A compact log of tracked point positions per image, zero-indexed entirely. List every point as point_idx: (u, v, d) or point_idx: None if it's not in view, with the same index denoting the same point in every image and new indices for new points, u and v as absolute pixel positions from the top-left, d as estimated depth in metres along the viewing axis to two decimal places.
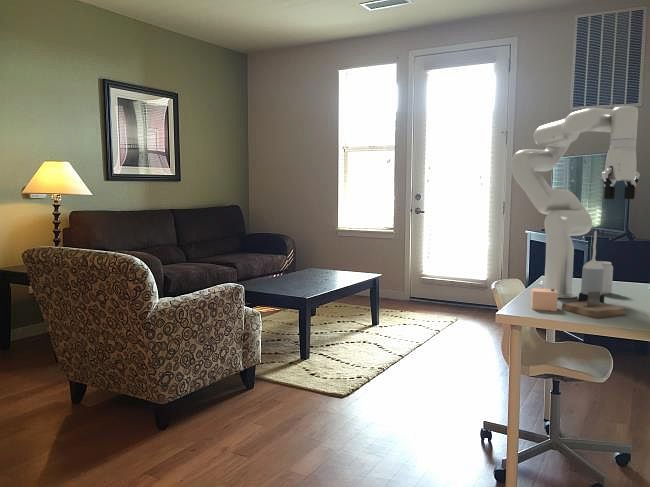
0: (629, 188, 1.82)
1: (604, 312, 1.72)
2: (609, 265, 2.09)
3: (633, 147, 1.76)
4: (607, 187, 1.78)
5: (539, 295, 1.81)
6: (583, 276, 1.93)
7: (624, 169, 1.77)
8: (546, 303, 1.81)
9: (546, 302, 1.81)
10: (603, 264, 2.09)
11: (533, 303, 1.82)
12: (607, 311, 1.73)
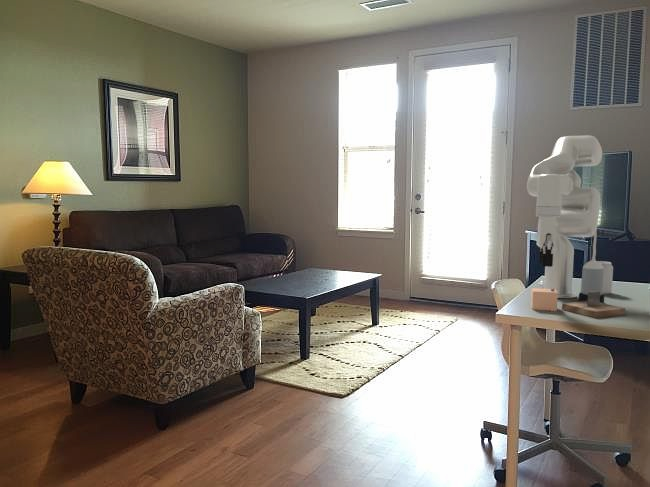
0: None
1: (604, 312, 1.72)
2: (609, 265, 2.09)
3: (560, 215, 1.80)
4: (547, 255, 1.76)
5: (539, 295, 1.81)
6: (583, 276, 1.93)
7: None
8: (546, 303, 1.81)
9: (546, 302, 1.81)
10: (603, 264, 2.09)
11: (533, 303, 1.82)
12: (607, 311, 1.73)
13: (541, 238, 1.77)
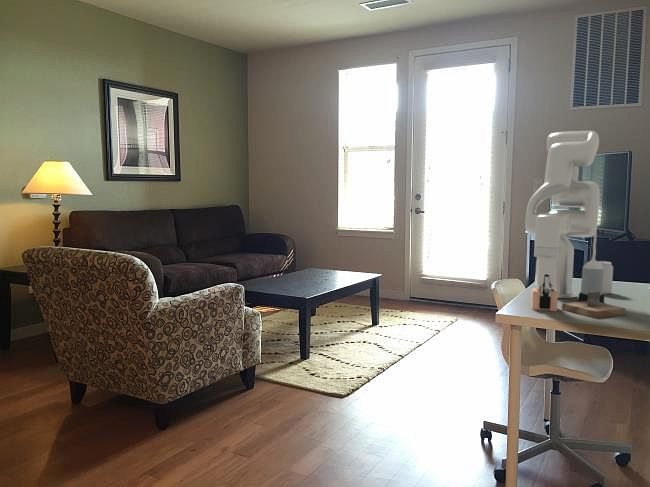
0: None
1: (604, 312, 1.72)
2: (609, 265, 2.09)
3: None
4: (544, 298, 1.79)
5: (539, 295, 1.81)
6: (583, 276, 1.93)
7: None
8: None
9: None
10: (603, 264, 2.09)
11: (533, 303, 1.82)
12: (607, 311, 1.73)
13: (539, 279, 1.79)
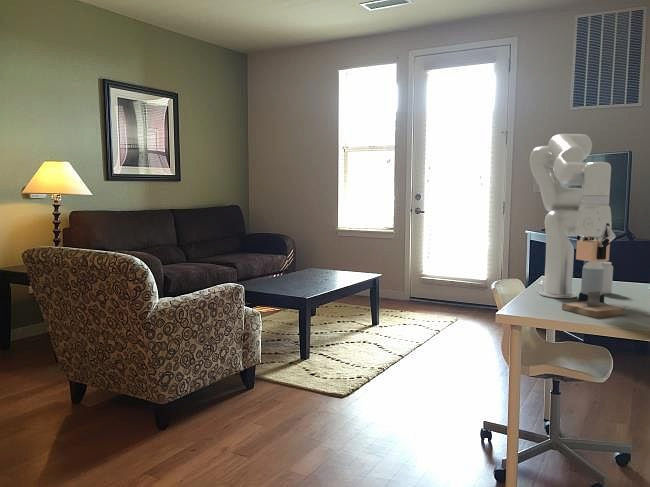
0: None
1: (604, 312, 1.72)
2: (609, 265, 2.09)
3: None
4: (603, 248, 1.73)
5: (596, 246, 1.74)
6: (583, 276, 1.93)
7: None
8: None
9: None
10: (603, 264, 2.09)
11: (592, 255, 1.74)
12: (607, 311, 1.73)
13: (602, 228, 1.71)
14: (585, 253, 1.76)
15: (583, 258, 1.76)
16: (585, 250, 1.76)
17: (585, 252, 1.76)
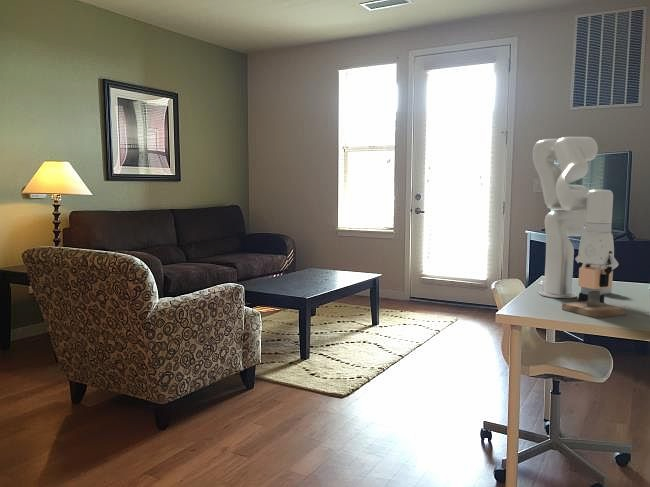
0: None
1: (604, 312, 1.72)
2: (609, 265, 2.09)
3: None
4: (606, 275, 1.74)
5: (599, 273, 1.74)
6: None
7: None
8: None
9: None
10: None
11: (595, 282, 1.74)
12: (607, 311, 1.73)
13: (605, 256, 1.72)
14: (588, 280, 1.76)
15: (586, 285, 1.77)
16: (588, 277, 1.76)
17: (588, 279, 1.76)
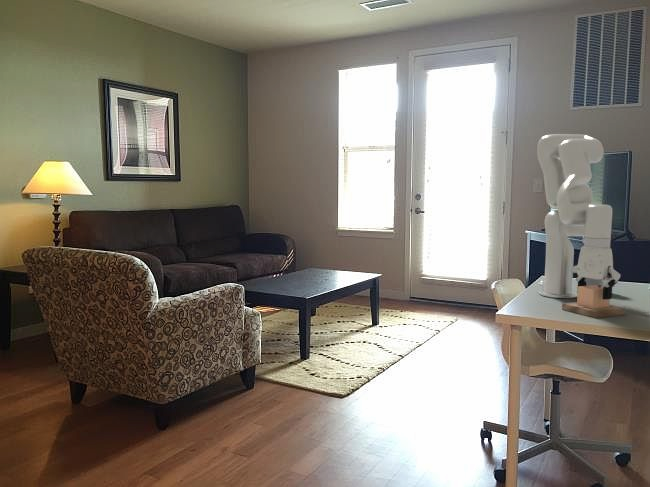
0: (583, 283, 1.82)
1: (604, 312, 1.72)
2: None
3: None
4: (609, 288, 1.73)
5: (597, 293, 1.75)
6: None
7: None
8: (602, 300, 1.76)
9: (602, 299, 1.76)
10: None
11: (593, 302, 1.75)
12: (607, 311, 1.73)
13: (604, 271, 1.72)
14: (586, 299, 1.77)
15: (584, 304, 1.78)
16: (586, 297, 1.77)
17: (586, 298, 1.77)
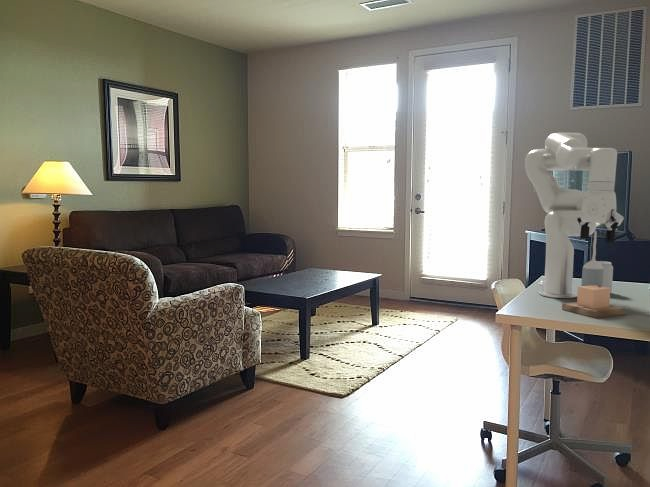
0: (586, 228, 1.83)
1: (604, 312, 1.72)
2: (609, 265, 2.09)
3: None
4: (612, 231, 1.73)
5: (597, 293, 1.75)
6: (583, 276, 1.93)
7: None
8: (602, 300, 1.76)
9: (602, 299, 1.76)
10: (603, 264, 2.09)
11: (593, 302, 1.75)
12: (607, 311, 1.73)
13: (607, 214, 1.73)
14: (586, 299, 1.77)
15: (584, 304, 1.78)
16: (586, 297, 1.77)
17: (586, 298, 1.77)
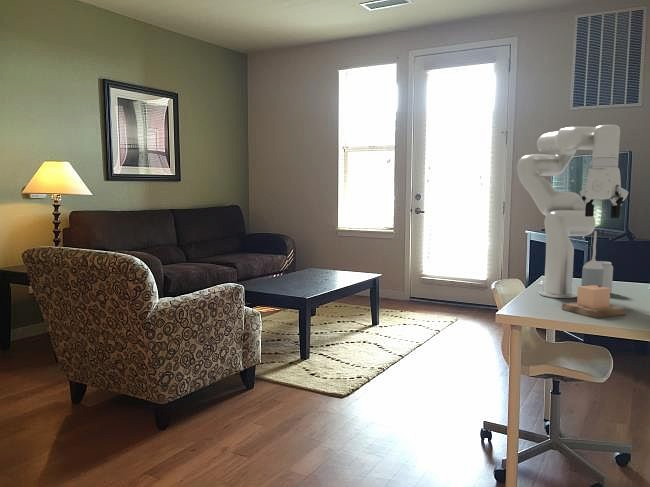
0: (591, 206, 1.85)
1: (604, 312, 1.72)
2: (609, 265, 2.09)
3: None
4: (617, 206, 1.75)
5: (597, 293, 1.75)
6: (583, 276, 1.93)
7: None
8: (602, 300, 1.76)
9: (602, 299, 1.76)
10: (603, 264, 2.09)
11: (593, 302, 1.75)
12: (607, 311, 1.73)
13: (612, 190, 1.75)
14: (586, 299, 1.77)
15: (584, 304, 1.78)
16: (586, 297, 1.77)
17: (586, 298, 1.77)
